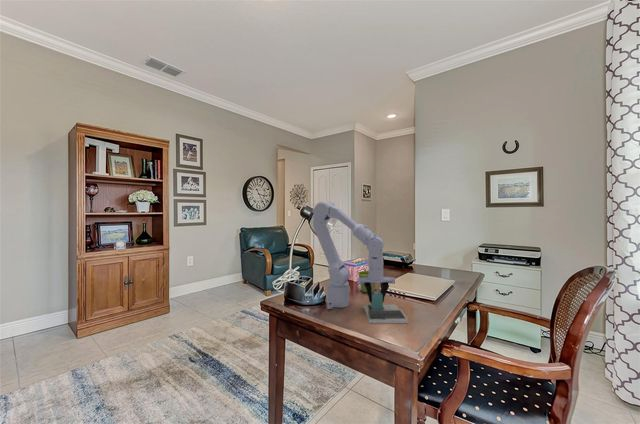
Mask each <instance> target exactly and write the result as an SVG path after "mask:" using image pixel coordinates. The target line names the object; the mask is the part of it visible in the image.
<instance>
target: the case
mask: <svg viewBox="0 0 640 424" xmlns="http://www.w3.org/2000/svg"><path fill="white" fill-rule="evenodd" d="M365 314H366V318H367V319H368V324H409V318H408V317H407V315H406V314H405V313H404V311H403V309H399V310H366V312H365Z"/></svg>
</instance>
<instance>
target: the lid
mask: <svg viewBox="0 0 640 424" xmlns="http://www.w3.org/2000/svg"><path fill="white" fill-rule="evenodd" d="M363 308H364V311H365V313H366V310H372V308H371V304H363ZM383 310H400V308H399V307H398V305H397V304H390V303H389V304H383Z"/></svg>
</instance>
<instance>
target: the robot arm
mask: <svg viewBox="0 0 640 424" xmlns="http://www.w3.org/2000/svg"><path fill="white" fill-rule="evenodd" d="M312 213H313V218H312V219H313V220H312V227H313V229H314V231H315V234H316V236H317V239H318V241H319V244H320V246H321V247H320V248H322V251H323V255H324V256H325V258H326V262H327V263H328V267H327V268H328V270H327V271H328V273H329V274H328V276H329V281H330V284H326V299H325V300H326V309H327V310H332V309H333V308H346V307H349V305H350V290H349V289H350V284H349V280H348V279H349V278H350V277H351V272H350V269H349V268H348V267H347V266H346V265H345V263H344V261H343V260H341V258H340V256H339V253H338V250H337V249H336V245H335V243H334V240H333V238H332V236H331V234H330V231H329V228H328V227H327V225H328V222H329V220H330V219H337V220H338V221H340V222H341V224H344V226H346V227H347V228H348V229H350V230H351V231H352V236H354V237H355V238H356V239H357V240H359V242H361V243H362V244H363V245H365V246H366V249H367V251H368V256H367V257H368V263H367V264H368V271H369V277H364V278H359V277H357V279H356V281H357V284H358V285H361V284H364V285H365V287H366V290H367V292H366V293H367V296H368V302H369V303H371V302H372V297H371V290H372V287H371V284H370V283H375V284H379V285H380V291H381V293H382V294H383V303H384V302H385V298H386V293H387V291H388V290H389V287H390V285H389V284H391V285H395V284H396V278H395V277H388V276H384V255H383V254H384V251H383V248H384V245H385V243H384V240H383V238H382V237H381V236H380V235H377V233H374V232H372V231H371V229H369V228H368V225H367V224H363V223H357V222H356V221H354V220H353V219H352V218H351V217H350V216H349V215H348V214H347V213H346V212H345V211H344V210H342V209H341V208H340V207H339V206H338V205H336V204H335V203H333V202H332V201H319V202H317V203H316V205H315V206H314V207H313V210H312Z"/></svg>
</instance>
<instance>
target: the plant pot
mask: <svg viewBox="0 0 640 424" xmlns="http://www.w3.org/2000/svg"><path fill="white" fill-rule="evenodd" d="M357 275H358V278H364V277H369V270H362V271H358V272H357ZM370 284H371V287H372V290H371V291H375V288H376V287H375V285H376V283H370ZM360 290H361V292H363V293H367V290H366V287H365V285H364V284H360Z"/></svg>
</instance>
